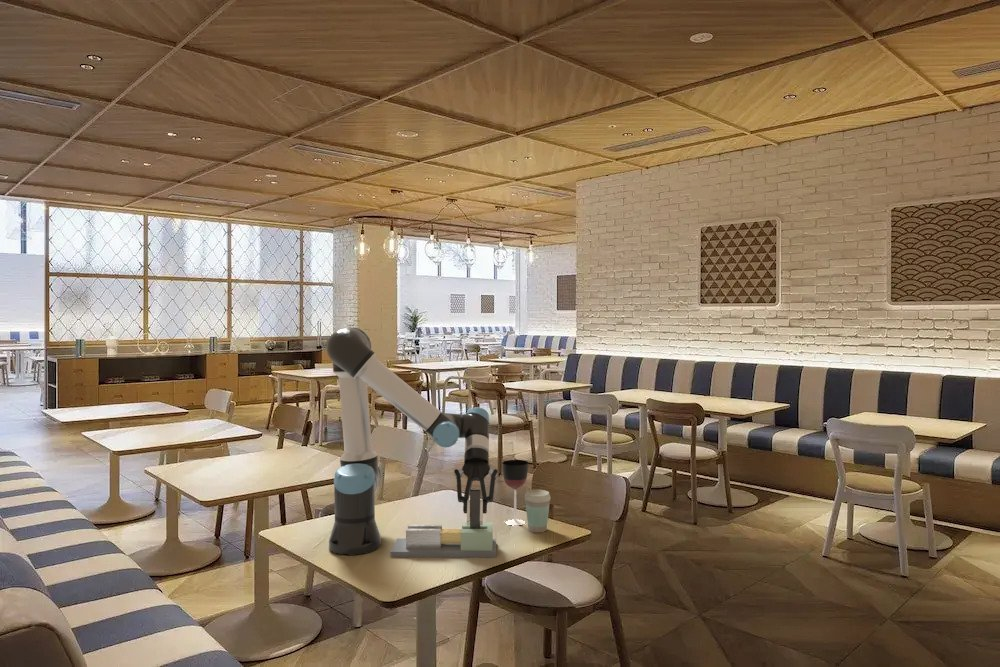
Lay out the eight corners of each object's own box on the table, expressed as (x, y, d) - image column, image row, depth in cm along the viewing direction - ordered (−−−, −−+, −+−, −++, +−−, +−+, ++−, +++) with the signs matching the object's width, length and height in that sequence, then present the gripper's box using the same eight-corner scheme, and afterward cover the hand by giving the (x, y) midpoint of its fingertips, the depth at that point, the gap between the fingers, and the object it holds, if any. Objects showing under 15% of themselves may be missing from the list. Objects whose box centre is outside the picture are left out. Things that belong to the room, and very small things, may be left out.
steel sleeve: (405, 548, 193) (405, 530, 192) (408, 541, 198) (408, 524, 198) (440, 548, 192) (440, 530, 192) (442, 541, 198) (442, 524, 197)
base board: (390, 557, 190) (390, 551, 190) (396, 543, 201) (396, 538, 201) (495, 557, 189) (495, 552, 189) (496, 543, 200) (496, 538, 200)
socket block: (460, 550, 191) (460, 532, 190) (462, 539, 199) (462, 522, 199) (492, 550, 191) (492, 532, 190) (492, 539, 199) (492, 522, 199)
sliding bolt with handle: (437, 543, 193) (436, 491, 193) (438, 539, 197) (438, 488, 196) (485, 543, 193) (485, 491, 193) (485, 539, 196) (485, 488, 196)
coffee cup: (551, 525, 217) (551, 489, 216) (550, 534, 208) (550, 496, 208) (524, 525, 218) (524, 488, 217) (523, 533, 209) (523, 496, 209)
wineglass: (498, 520, 222) (498, 461, 221) (522, 517, 225) (522, 458, 224) (507, 528, 215) (507, 466, 214) (532, 524, 218) (532, 464, 217)
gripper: (502, 459, 209) (502, 529, 194) (451, 459, 210) (447, 529, 194) (502, 446, 204) (502, 516, 188) (449, 446, 204) (445, 516, 188)
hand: (474, 522), depth 191 cm, fingers closed on sliding bolt with handle, 3 cm apart
